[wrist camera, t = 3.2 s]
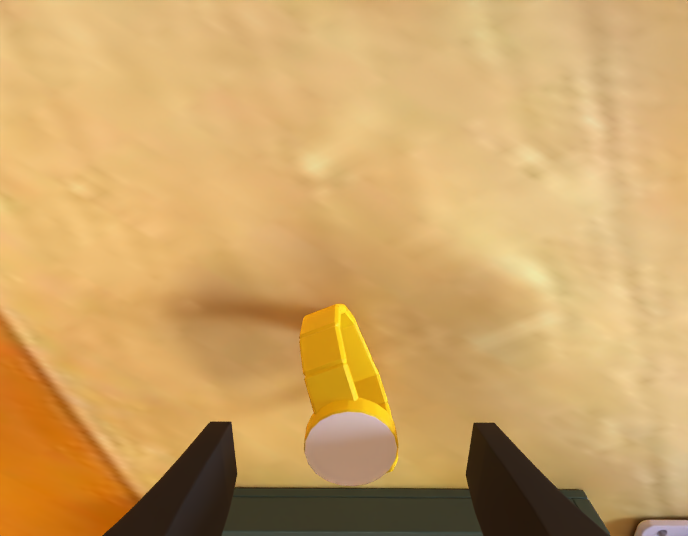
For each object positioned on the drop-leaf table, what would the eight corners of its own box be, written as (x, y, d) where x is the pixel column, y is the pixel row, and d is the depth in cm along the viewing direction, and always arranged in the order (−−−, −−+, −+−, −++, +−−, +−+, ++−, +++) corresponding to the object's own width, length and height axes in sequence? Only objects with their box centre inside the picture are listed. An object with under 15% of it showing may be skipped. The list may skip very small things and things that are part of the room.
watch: (404, 389, 18) (430, 511, 13) (347, 408, 19) (348, 534, 13) (354, 274, 16) (359, 359, 11) (291, 299, 17) (265, 392, 11)
